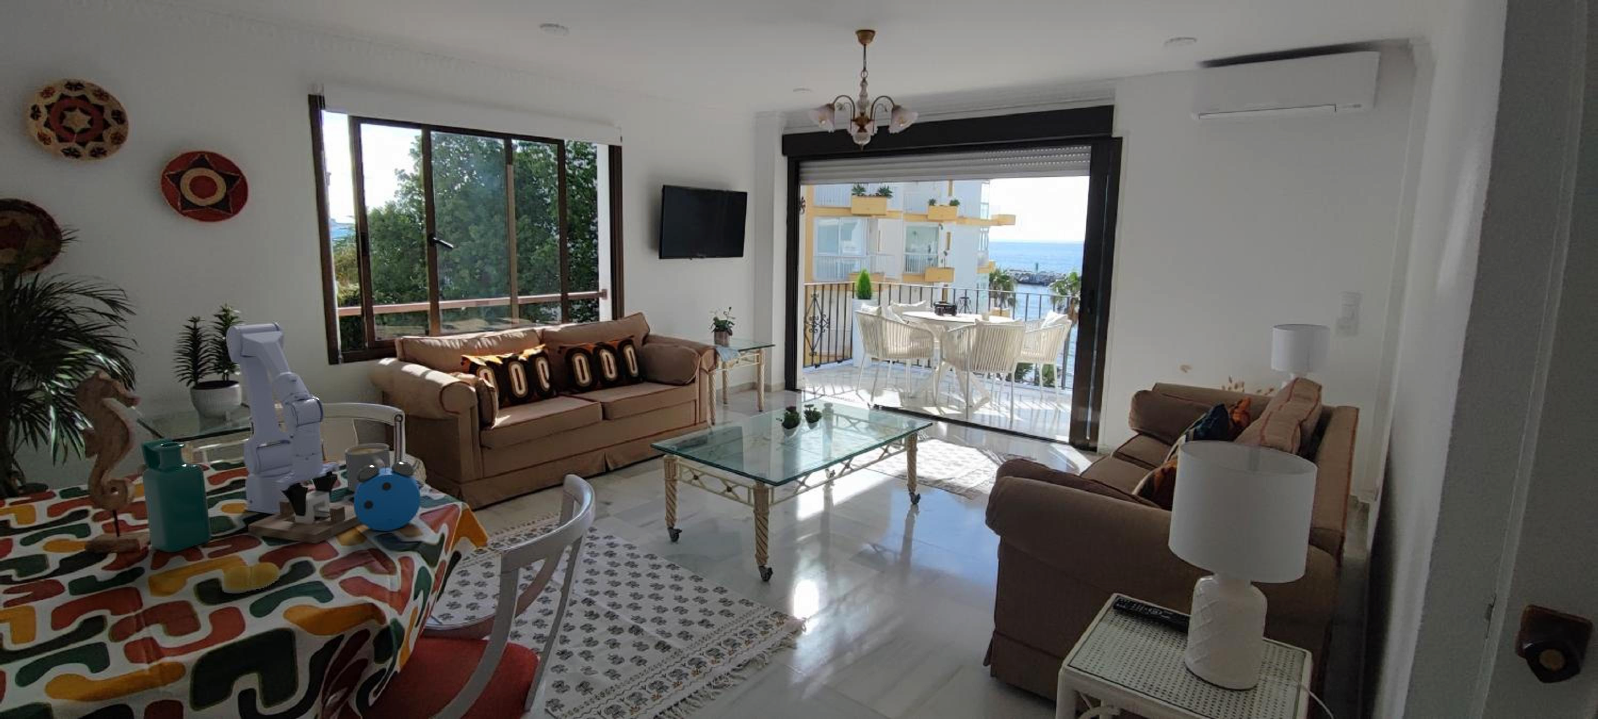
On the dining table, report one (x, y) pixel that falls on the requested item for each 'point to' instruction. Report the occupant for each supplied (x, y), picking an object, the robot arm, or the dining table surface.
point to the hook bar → (317, 508)
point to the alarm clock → (386, 496)
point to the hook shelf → (289, 529)
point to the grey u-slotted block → (312, 499)
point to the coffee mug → (365, 460)
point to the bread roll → (250, 577)
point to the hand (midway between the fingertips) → (312, 510)
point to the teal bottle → (174, 497)
